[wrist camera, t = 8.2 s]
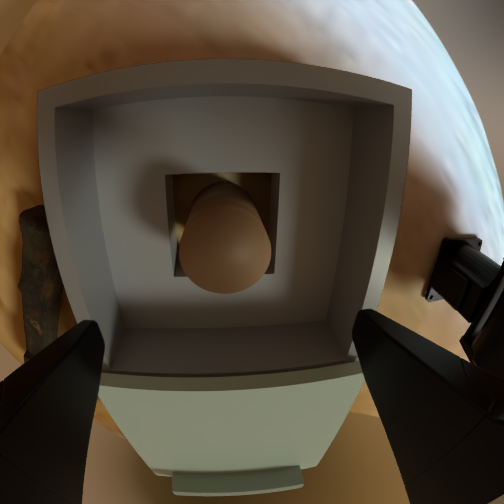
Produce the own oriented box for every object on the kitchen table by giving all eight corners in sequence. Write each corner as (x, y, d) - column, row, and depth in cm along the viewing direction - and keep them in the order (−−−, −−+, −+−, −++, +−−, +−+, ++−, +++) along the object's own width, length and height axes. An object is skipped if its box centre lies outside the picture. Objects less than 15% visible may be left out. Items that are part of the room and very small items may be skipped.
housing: (350, 97, 15) (411, 89, 9) (325, 309, 22) (356, 367, 16) (95, 99, 13) (37, 91, 7) (124, 316, 20) (102, 378, 14)
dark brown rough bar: (44, 194, 15) (6, 215, 11) (86, 216, 16) (52, 243, 12) (32, 354, 21) (16, 383, 17) (61, 370, 22) (48, 402, 18)
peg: (255, 182, 17) (273, 209, 11) (254, 242, 18) (268, 292, 13) (190, 183, 16) (175, 211, 11) (193, 243, 18) (183, 295, 13)
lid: (362, 360, 15) (382, 398, 12) (314, 458, 22) (321, 483, 19) (95, 371, 13) (81, 414, 10) (156, 467, 20) (155, 492, 17)
